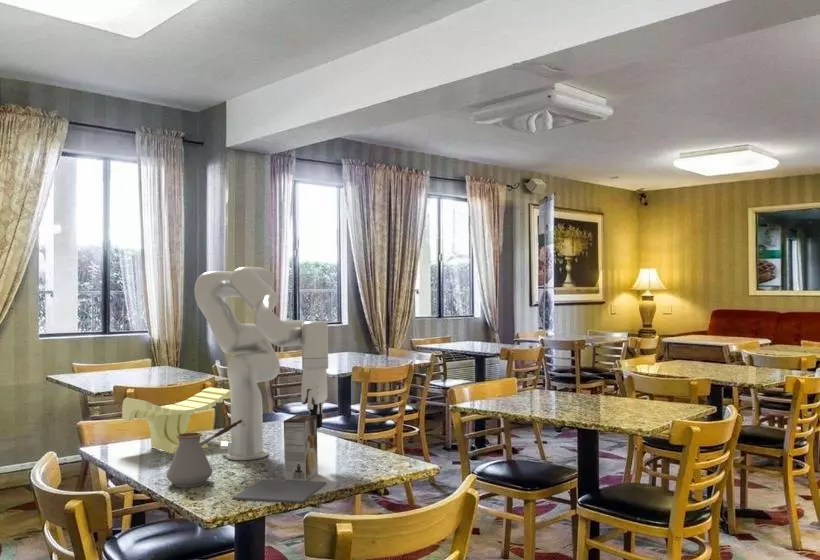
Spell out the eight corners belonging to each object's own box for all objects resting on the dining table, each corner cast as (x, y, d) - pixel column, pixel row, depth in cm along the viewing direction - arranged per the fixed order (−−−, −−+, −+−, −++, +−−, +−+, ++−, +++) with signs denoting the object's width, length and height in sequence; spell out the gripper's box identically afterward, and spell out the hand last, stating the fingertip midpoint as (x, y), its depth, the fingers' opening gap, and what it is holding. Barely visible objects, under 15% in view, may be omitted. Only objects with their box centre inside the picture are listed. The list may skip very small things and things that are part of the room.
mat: (232, 499, 167) (232, 497, 167) (262, 480, 183) (262, 479, 183) (302, 502, 163) (302, 500, 163) (326, 483, 179) (326, 481, 179)
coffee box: (296, 472, 192) (295, 414, 192) (318, 473, 190) (317, 414, 191) (283, 481, 183) (283, 420, 183) (306, 481, 181) (306, 420, 182)
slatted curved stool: (205, 436, 244) (204, 386, 245) (230, 442, 234) (230, 389, 234) (122, 452, 222) (122, 396, 222) (146, 459, 211) (146, 400, 212)
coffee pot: (176, 492, 174) (175, 432, 174) (160, 483, 183) (159, 426, 183) (253, 477, 187) (253, 421, 188) (235, 469, 196) (235, 416, 196)
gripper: (311, 361, 207) (312, 422, 207) (293, 366, 192) (294, 432, 192) (335, 361, 205) (336, 423, 205) (318, 366, 191) (319, 433, 190)
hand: (316, 427), depth 198 cm, fingers closed
